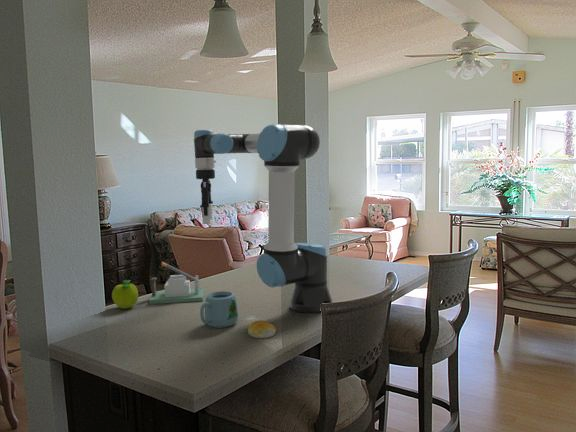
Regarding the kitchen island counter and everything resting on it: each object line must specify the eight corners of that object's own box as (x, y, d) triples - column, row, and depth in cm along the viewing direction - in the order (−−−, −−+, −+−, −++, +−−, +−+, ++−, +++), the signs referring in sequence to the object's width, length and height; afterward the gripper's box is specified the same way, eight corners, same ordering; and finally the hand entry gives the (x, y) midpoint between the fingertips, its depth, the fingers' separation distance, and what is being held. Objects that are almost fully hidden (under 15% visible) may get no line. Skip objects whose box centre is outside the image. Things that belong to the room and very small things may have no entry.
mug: (214, 335, 160) (213, 304, 159) (189, 329, 166) (187, 299, 165) (245, 322, 172) (244, 292, 171) (220, 316, 178) (219, 288, 177)
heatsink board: (204, 292, 212) (203, 272, 211) (202, 301, 199) (201, 279, 198) (155, 294, 210) (153, 274, 209) (149, 303, 197) (148, 282, 196)
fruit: (140, 303, 198) (138, 277, 197) (137, 310, 189) (135, 283, 188) (115, 305, 197) (113, 279, 195) (111, 312, 187) (109, 285, 186)
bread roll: (265, 327, 167) (265, 315, 166) (279, 335, 159) (279, 323, 158) (242, 332, 162) (242, 320, 162) (255, 341, 155) (255, 328, 154)
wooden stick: (197, 281, 205) (198, 279, 205) (197, 282, 203) (198, 280, 203) (161, 264, 203) (163, 261, 203) (160, 265, 201) (162, 262, 201)
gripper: (212, 169, 196) (215, 225, 198) (216, 168, 220) (218, 217, 223) (192, 170, 195) (195, 226, 198) (198, 168, 220) (200, 218, 222)
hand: (207, 221), depth 210 cm, fingers open, 13 cm apart
